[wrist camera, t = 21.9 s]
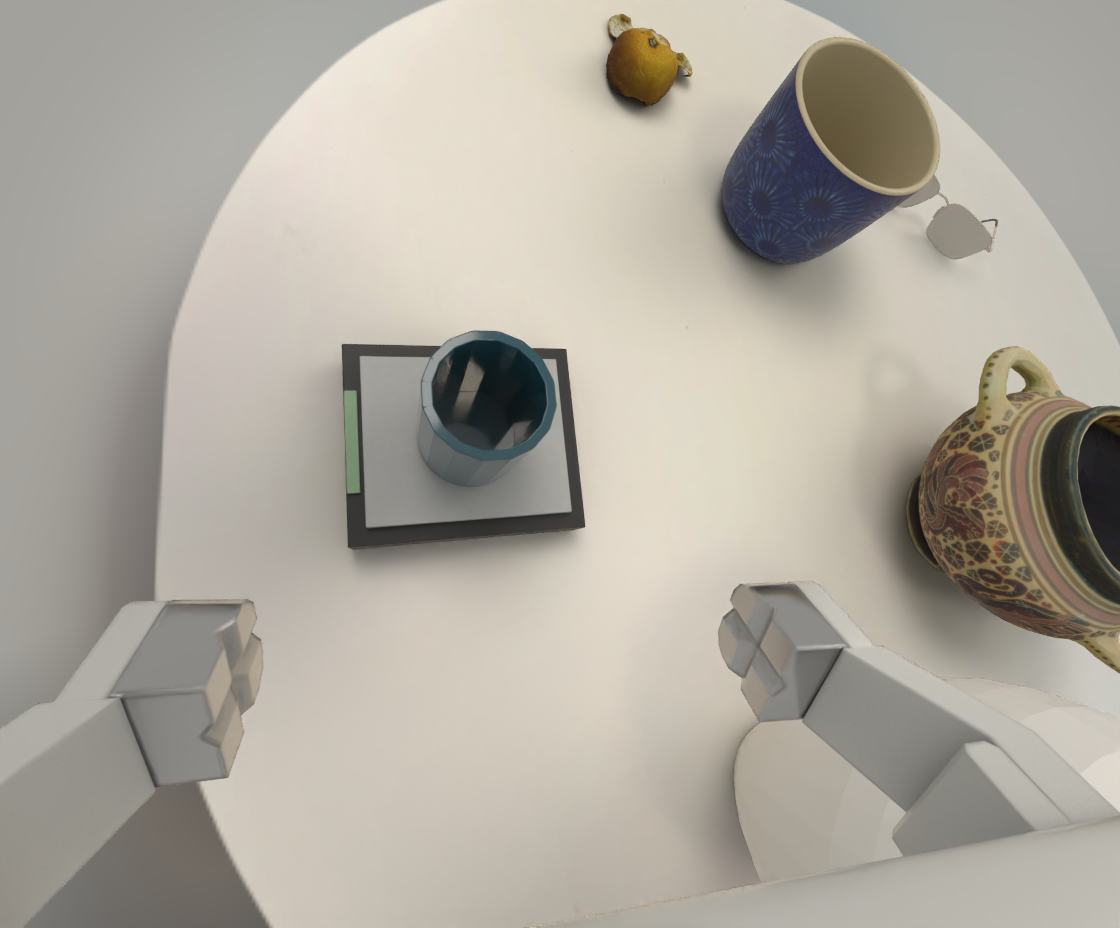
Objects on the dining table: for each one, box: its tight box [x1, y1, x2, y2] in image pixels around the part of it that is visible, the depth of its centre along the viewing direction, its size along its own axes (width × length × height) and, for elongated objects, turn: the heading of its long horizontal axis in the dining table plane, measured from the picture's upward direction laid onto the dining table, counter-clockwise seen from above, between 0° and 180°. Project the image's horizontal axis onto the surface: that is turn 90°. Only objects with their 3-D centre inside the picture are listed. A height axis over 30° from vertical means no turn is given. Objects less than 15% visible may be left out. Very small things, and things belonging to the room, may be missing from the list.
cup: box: [416, 331, 557, 487], centre depth 27 cm, size 6×6×8 cm
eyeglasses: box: [898, 175, 998, 259], centre depth 51 cm, size 14×8×4 cm, turn 52°
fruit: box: [606, 14, 692, 106], centre depth 43 cm, size 8×8×4 cm
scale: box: [342, 344, 585, 549], centre depth 33 cm, size 14×12×3 cm
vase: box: [734, 678, 1120, 883], centre depth 24 cm, size 18×18×25 cm
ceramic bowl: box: [906, 347, 1120, 673], centre depth 39 cm, size 24×18×15 cm
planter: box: [722, 37, 940, 264], centre depth 41 cm, size 12×12×11 cm
